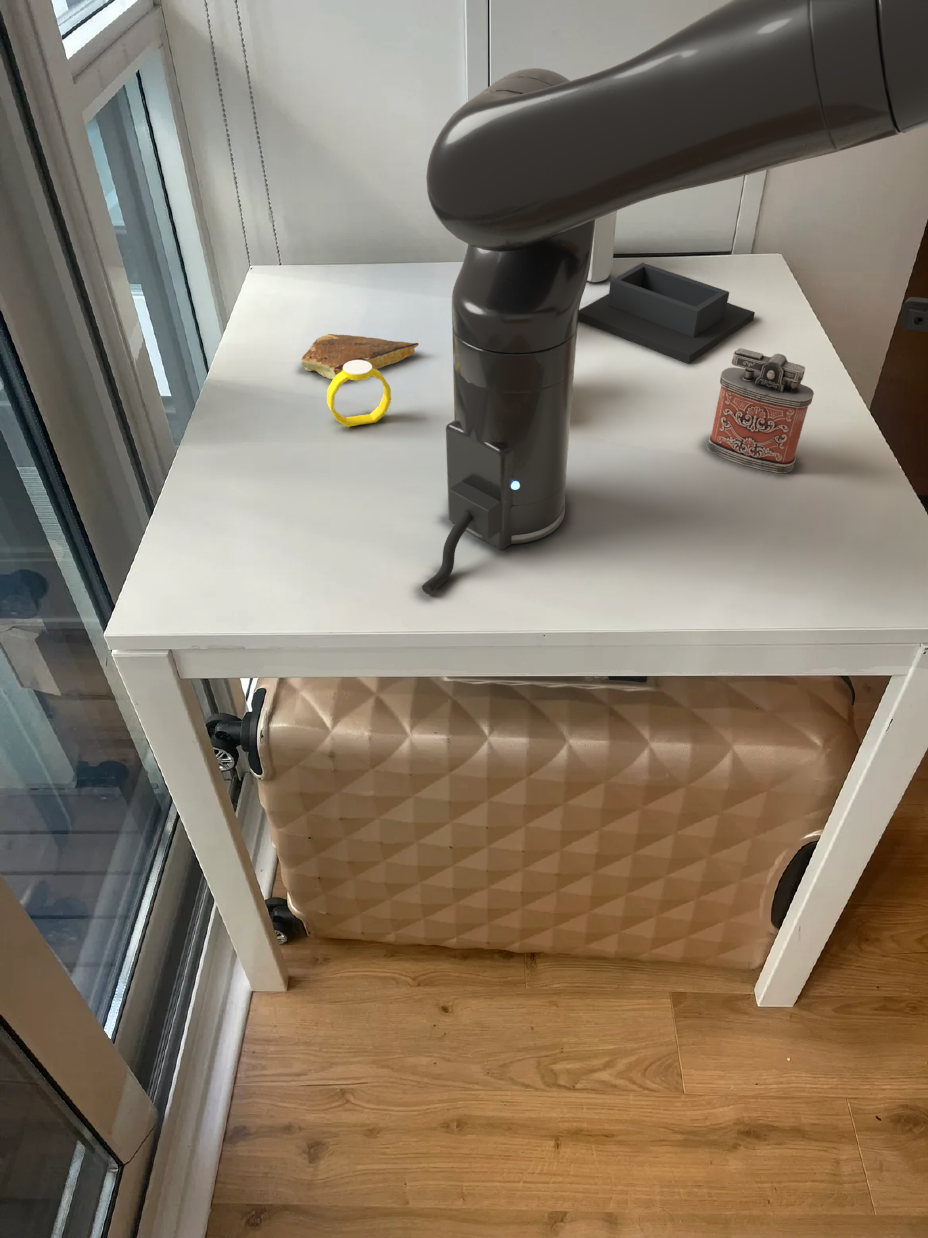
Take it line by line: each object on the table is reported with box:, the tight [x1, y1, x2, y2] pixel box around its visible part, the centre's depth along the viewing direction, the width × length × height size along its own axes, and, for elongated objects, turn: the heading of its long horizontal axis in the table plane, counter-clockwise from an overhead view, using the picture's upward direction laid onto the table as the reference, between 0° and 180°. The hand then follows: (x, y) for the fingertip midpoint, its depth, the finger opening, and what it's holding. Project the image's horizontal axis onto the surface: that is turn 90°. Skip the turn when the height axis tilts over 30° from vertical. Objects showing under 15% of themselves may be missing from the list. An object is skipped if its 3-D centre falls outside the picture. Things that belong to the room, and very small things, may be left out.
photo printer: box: [587, 210, 618, 283], centre depth 112 cm, size 10×4×12 cm, turn 39°
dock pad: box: [578, 262, 756, 365], centre depth 105 cm, size 13×15×4 cm
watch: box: [326, 360, 392, 428], centre depth 90 cm, size 6×3×6 cm, turn 111°
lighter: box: [706, 347, 815, 474], centre depth 83 cm, size 8×3×10 cm, turn 58°
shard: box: [300, 333, 419, 380], centre depth 99 cm, size 11×8×2 cm
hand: (921, 290), depth 71 cm, fingers open, 8 cm apart
